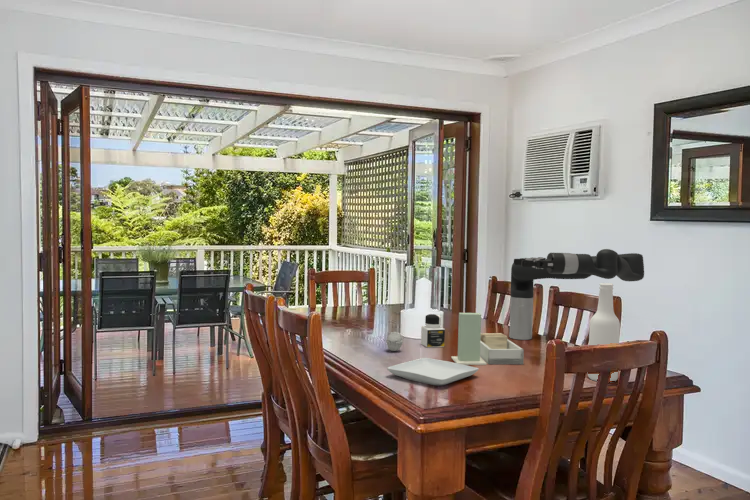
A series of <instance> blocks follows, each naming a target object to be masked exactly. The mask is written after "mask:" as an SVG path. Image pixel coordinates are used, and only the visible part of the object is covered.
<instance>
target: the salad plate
mask: <svg viewBox="0 0 750 500" xmlns="http://www.w3.org/2000/svg"><path fill="white" fill-rule="evenodd" d="M386 369H387V371H388V372H389V373H391V374H392V375H394V376H397V377H400V378H403V379H406V380H410V381H413V382H414V381H415V382H418V383H422V384H427V385H432V386H439V387H440V386H445V385H448V384H451V383H454V382H457V381H459V380H463V379H465V378H467V377H471V376H472V375H474V374H476V373H477V372H478V371H479V369H480V368H479V367H475V366H473V365H463V364H458V363H455V362H453V361H448V360H441V359H436V358H431V357H421V358H417V359H413V360H409V361H405V362H401V363H397V364H394V365H389V366H387V367H386Z"/></svg>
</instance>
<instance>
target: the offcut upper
mask: <svg viewBox="0 0 750 500" xmlns="http://www.w3.org/2000/svg"><path fill="white" fill-rule="evenodd" d="M507 339H508V336H507V335H506V334H504V333H502V332H497V333H496V332H494V333H493V332H492V333H490V332H489V333H488V332H485V333H482V332H481V338H480V340H481V341H483V342H484V343H507Z"/></svg>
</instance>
